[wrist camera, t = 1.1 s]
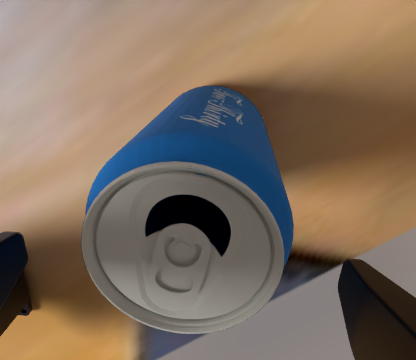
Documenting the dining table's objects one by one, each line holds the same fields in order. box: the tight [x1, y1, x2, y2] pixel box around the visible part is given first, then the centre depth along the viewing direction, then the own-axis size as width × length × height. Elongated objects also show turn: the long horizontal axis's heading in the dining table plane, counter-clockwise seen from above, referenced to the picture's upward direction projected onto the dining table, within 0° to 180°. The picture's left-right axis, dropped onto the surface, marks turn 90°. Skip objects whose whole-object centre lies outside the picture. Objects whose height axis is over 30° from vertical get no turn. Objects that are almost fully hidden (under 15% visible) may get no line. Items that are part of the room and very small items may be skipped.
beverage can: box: [81, 86, 293, 334], centre depth 14 cm, size 6×6×12 cm
